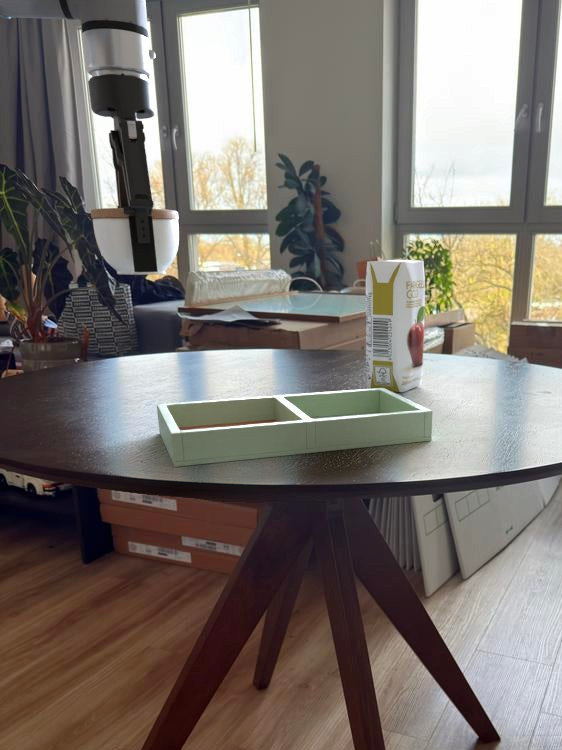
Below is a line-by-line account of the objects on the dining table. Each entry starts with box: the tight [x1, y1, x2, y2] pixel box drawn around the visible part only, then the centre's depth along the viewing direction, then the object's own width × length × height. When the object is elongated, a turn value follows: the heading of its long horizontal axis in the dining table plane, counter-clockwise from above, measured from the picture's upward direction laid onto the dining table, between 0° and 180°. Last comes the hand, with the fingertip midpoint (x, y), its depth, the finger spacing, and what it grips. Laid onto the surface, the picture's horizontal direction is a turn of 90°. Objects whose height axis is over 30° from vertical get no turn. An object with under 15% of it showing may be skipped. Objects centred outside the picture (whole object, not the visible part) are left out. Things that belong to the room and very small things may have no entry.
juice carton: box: [365, 259, 426, 393], centre depth 111 cm, size 8×9×19 cm
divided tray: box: [156, 388, 433, 468], centre depth 85 cm, size 29×15×4 cm, turn 112°
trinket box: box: [90, 207, 180, 276], centre depth 94 cm, size 11×11×9 cm
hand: (141, 270), depth 95 cm, fingers closed on trinket box, 11 cm apart
